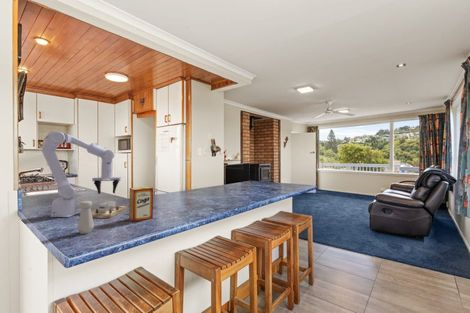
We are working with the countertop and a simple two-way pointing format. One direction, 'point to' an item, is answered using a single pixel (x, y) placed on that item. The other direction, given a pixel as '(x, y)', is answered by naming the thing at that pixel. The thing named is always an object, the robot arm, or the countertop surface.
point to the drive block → (106, 207)
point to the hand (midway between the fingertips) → (106, 193)
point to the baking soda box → (141, 203)
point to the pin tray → (111, 213)
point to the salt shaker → (85, 218)
